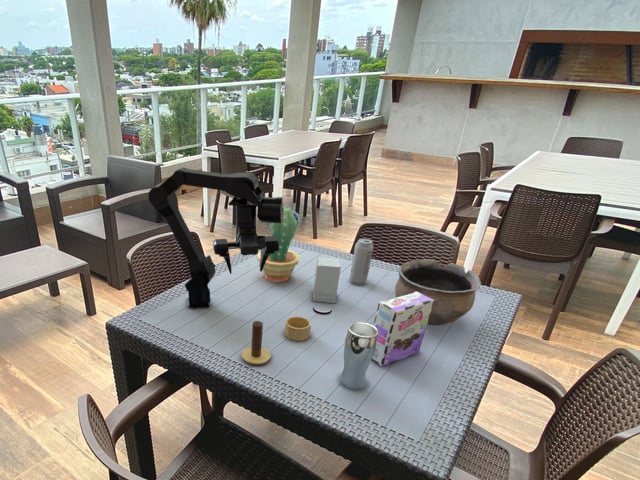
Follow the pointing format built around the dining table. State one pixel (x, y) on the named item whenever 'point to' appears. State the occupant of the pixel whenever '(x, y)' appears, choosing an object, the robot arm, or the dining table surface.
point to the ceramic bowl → (439, 288)
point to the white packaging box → (326, 280)
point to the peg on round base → (256, 347)
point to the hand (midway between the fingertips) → (245, 272)
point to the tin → (297, 328)
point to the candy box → (401, 327)
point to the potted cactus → (282, 248)
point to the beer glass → (358, 354)
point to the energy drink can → (361, 261)
